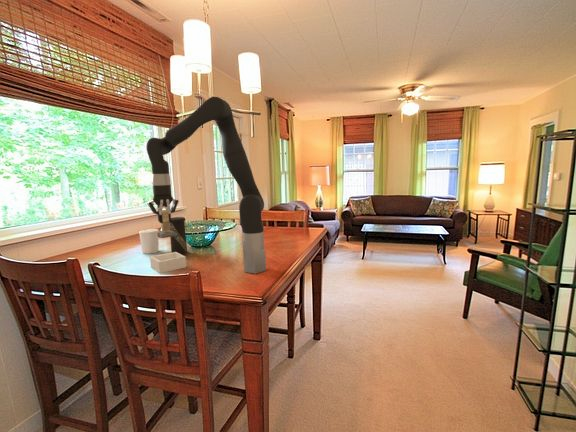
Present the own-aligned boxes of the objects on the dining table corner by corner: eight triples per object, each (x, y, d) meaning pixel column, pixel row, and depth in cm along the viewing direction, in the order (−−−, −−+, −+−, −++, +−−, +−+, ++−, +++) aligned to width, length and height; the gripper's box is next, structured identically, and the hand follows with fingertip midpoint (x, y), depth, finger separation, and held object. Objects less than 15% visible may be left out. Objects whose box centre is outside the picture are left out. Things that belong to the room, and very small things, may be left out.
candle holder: (155, 253, 163) (153, 232, 161) (137, 254, 163) (135, 232, 162) (163, 249, 173) (161, 228, 171) (146, 249, 173) (144, 229, 171)
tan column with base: (175, 236, 136) (173, 209, 135) (162, 238, 132) (159, 211, 131) (170, 234, 141) (168, 209, 140) (157, 236, 137) (154, 210, 136)
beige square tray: (186, 267, 139) (185, 256, 138) (159, 273, 131) (158, 262, 130) (176, 261, 148) (175, 251, 147) (150, 267, 140) (149, 256, 139)
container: (169, 256, 157) (166, 218, 154) (171, 252, 166) (168, 216, 163) (187, 255, 159) (184, 217, 157) (188, 250, 168) (185, 215, 165)
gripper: (147, 185, 126) (151, 225, 129) (180, 183, 135) (183, 221, 138) (142, 184, 132) (146, 223, 134) (174, 183, 141) (177, 219, 144)
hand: (164, 222), depth 136 cm, fingers closed on tan column with base, 2 cm apart
